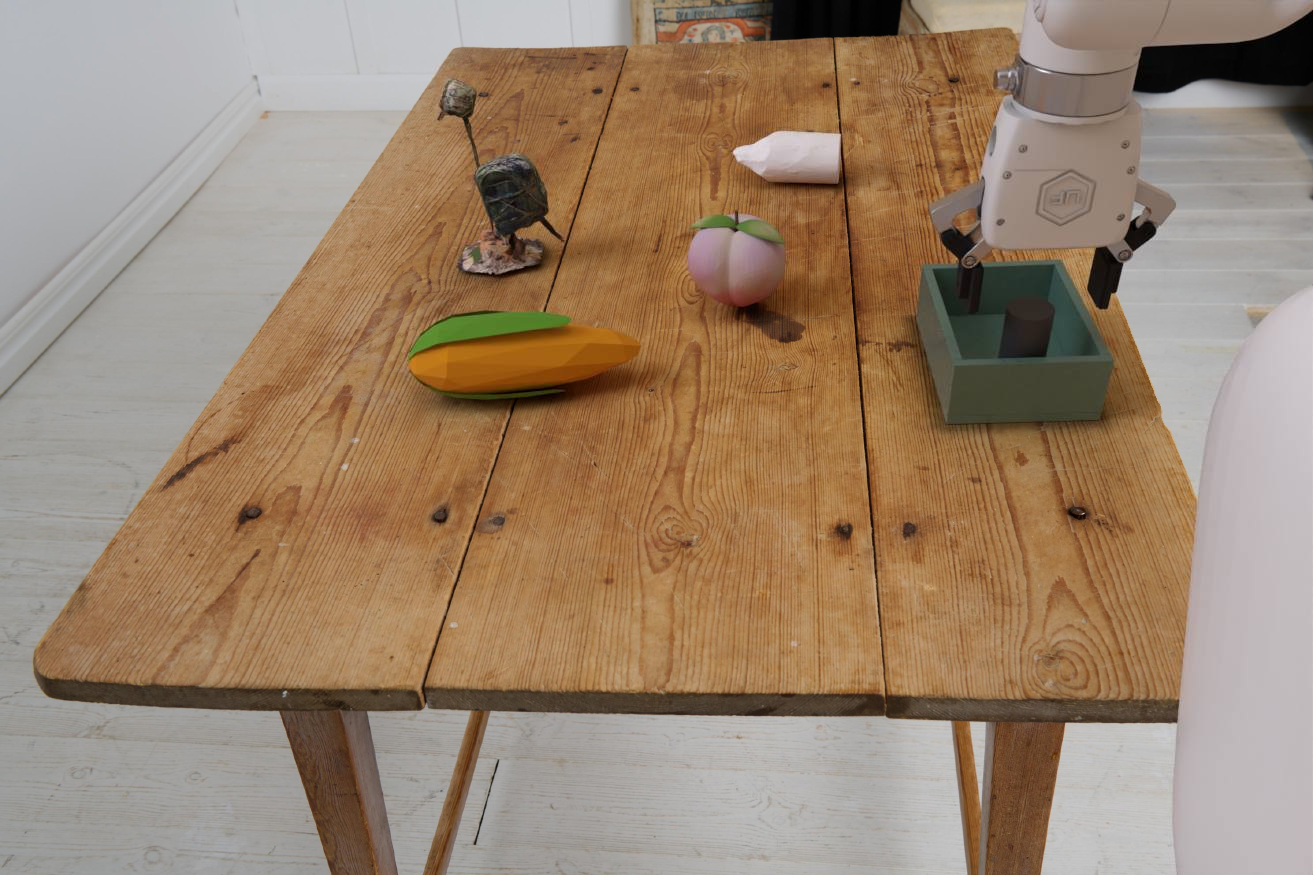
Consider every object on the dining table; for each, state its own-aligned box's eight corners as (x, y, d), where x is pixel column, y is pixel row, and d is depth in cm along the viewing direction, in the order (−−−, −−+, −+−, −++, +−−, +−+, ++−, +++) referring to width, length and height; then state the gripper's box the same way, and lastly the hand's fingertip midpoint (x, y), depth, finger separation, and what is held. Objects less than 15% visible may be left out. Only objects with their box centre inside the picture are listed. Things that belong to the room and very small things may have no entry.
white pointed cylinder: (737, 167, 125) (736, 121, 122) (840, 169, 123) (842, 123, 120) (730, 190, 121) (729, 143, 117) (837, 193, 119) (839, 145, 115)
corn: (404, 297, 91) (636, 279, 91) (423, 366, 97) (642, 349, 96) (392, 350, 86) (639, 332, 86) (413, 420, 91) (645, 403, 91)
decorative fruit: (795, 287, 104) (798, 193, 97) (777, 332, 98) (778, 235, 91) (702, 277, 106) (699, 184, 100) (679, 321, 100) (674, 225, 94)
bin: (1099, 420, 85) (1114, 360, 81) (946, 424, 86) (954, 365, 82) (1050, 315, 97) (1061, 259, 93) (915, 319, 98) (921, 264, 94)
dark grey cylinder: (1032, 377, 89) (1048, 294, 84) (1043, 403, 86) (1060, 319, 81) (988, 378, 89) (1002, 296, 84) (997, 404, 86) (1012, 321, 81)
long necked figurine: (548, 285, 107) (520, 90, 94) (446, 274, 110) (405, 84, 97) (575, 246, 113) (553, 58, 100) (478, 237, 116) (444, 53, 103)
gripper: (952, 110, 69) (926, 333, 79) (1228, 97, 68) (1164, 325, 78) (932, 69, 75) (911, 281, 85) (1186, 57, 74) (1132, 273, 84)
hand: (1032, 302), depth 82 cm, fingers open, 9 cm apart
